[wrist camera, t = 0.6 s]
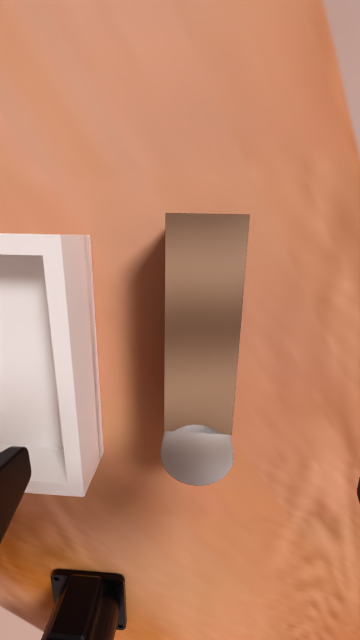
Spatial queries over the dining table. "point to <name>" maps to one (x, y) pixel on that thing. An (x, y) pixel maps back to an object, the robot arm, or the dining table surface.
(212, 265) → the strut
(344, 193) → the dining table surface
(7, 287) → the bin
